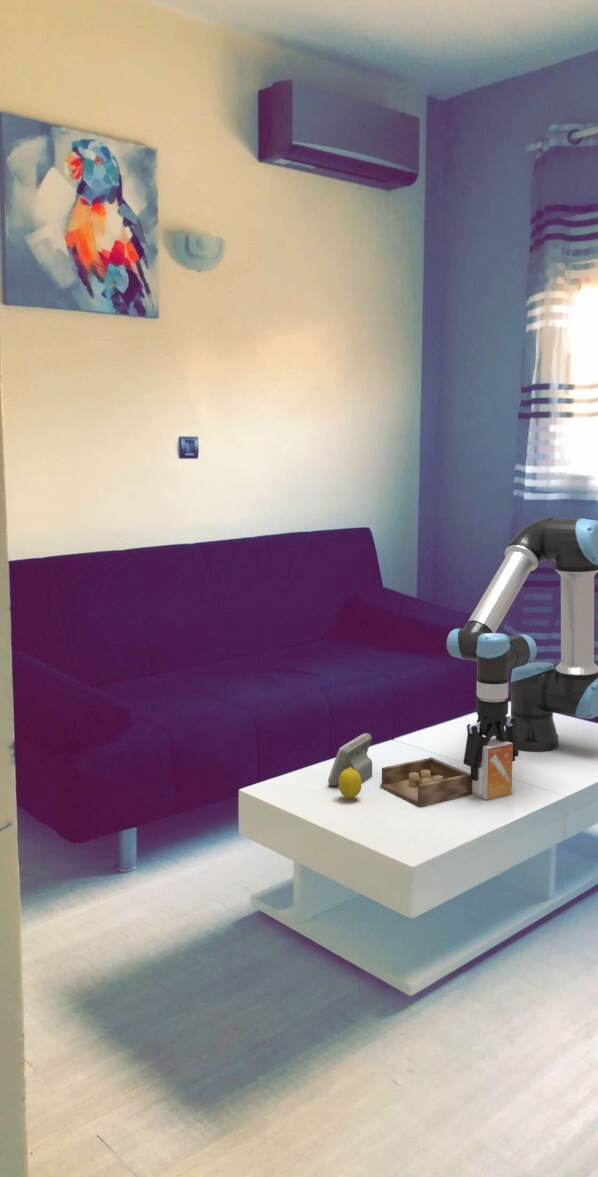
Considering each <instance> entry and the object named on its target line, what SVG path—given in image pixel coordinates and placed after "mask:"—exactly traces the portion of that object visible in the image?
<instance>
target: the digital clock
mask: <svg viewBox="0 0 598 1177" xmlns="http://www.w3.org/2000/svg"><path fill="white" fill-rule="evenodd" d="M372 740H373V739H372V735H371V733H367V732H366V733H362V734H360V735H359V736H357V737H356V738H354V739H353V740H350V741H348V742H347V743H345V744H344V745H342V746H340V747H339V749H338V751H337V754H336V756H335V759H334V761H333V765H332V768H331V771H330V774H329V776H328V779H327V783H328V785H329V786H330V787H336V786H339V785H338V784H339V777H340V774H341V773H342V772H343V771H344V770H345V769H348V768H349V767H351V768H352V769H354V770H356V771H357V772H358V773H359V774H360V777H361V783H362V784H363V783H364V782H366V781H368V780H369V779H370V778H372V777H373V761H372V759H371V758H370V757H369V756H368V751H369V748H370V746H371V742H372Z"/></svg>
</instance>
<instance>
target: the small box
mask: <svg viewBox="0 0 598 1177" xmlns="http://www.w3.org/2000/svg"><path fill="white" fill-rule="evenodd" d="M475 762H476V761H475ZM513 762H514V761H513V743H511V742H508V741H506V742H502V741H499V740H497V739H496V737H495V736H494V737H491V739H490V741H489V742H488V743H487V745H486V746H483V753H482V761H481V764H480V767H482V794H477V793H475V792H473V791H472V795H474V796H477V797H478V798H481V799H483V800H485V801H490V800H493V799H497V798H501V797H505V796H511V795H512V794H513V793H512V792H513V791H512V790H513V788H512V787H513Z"/></svg>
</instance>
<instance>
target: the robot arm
mask: <svg viewBox="0 0 598 1177" xmlns="http://www.w3.org/2000/svg"><path fill="white" fill-rule="evenodd" d="M546 561H548V562H554V571H555V572H556V573H558V574H559V575H560V662H559V663H558V664H557V665H556V666H555V664H554V663H551V662H547V661H536V662H533V661H534V660H535V659H536V657H537V652H538V647H537V644H536V642H535V640H534V638H533V637H531V636H530V635H528V634H525V633H524V634H523V633H522V634H514V635H507V634H505V633H499V632H497V630H498V629H499V627H500V625H501V623H502V622H503V620H504V618H505V616H506V615H507V614H508V612H509V609H510V607H511V606H512V604H513V603H514V600H515V599H516V597H517V596H518V594H519V592H520V591H521V589H522V587H523V585H524V584H525V582H526V580H527V578H528V576H529V575H530V573H531V572H533V571H534V570H536V569H537V568H538V567H539V564H541V563H542V562H546ZM597 573H598V520H595V519H586V518H574V517H573V518H568V517H543V518H542V517H541V518H539V519H536V520H534V521H532V522H531V523H529V524H527V525H526V526H525V527H523V528H522V529H521V530H520V531H519V532H518V533H517V534H516V535H515V536H514V537H513V538H512V539H511V540H510V542H509V543H508V545H507V547H506V549H505V550H504V559H503V561H502V562H501V565H500V566H499V568H498V569H497V571H496V573H495V575H494V576H493V578H492V579H491V581H490V583H489V584H488V586H487V588H486V590H485V592H484V593H483V595H482V597H481V598H480V600H479V602H478V603H477V606H475V609H474V610H473V612H472V614H471V615H470V617H469V619H468V620H467V622H466V623H465V625H464V627H463V628H461V627H459V628H454V629H452V630H451V631H449V633H448V636H447V638H446V650H447V652H448V654H449V655H450V656H451V657H454V658H458V659H461V660H465V661H467V660H468V661H473V662H476V697H477V698H476V699H475V700H476V701H475V702H476V703H475V704H476V705H475V706H476V711H475V712H476V714H477V720H476V722H475V723H474V724H471V723H469V724H467V725H466V732H467V735H466V744H465V749H464V756H463V764H464V765H465V766H468V767H470V774H471V779H472V791H473V792H475V793H477V794H482V767H480V764H481V761H482V753H483V746H486V745H487V743H488V742H489V741H490V739H491V738H495V737H496V739H497V740H499V741H502V742H506V741H508V742H511V743H513V761H512V762H515V761H516V758H517V757H519V754H520V753H519V750H520V751H526V752H545V751H551V750H554V749H557V748H558V747H559V744H560V742H559V740H560V739H559V735H558V734H557V728H556V724H555V721H554V713H555V714H561V715H564V716H565V715H566V716H571V717H573V718H578V719H587V720H588V719H589V720H593V719H595V718H597V717H598V665H597V664H596V663H595V576H596V574H597ZM510 670H512V671H511V677H510V676H509V675H510V674H509V673H510ZM509 677H510V678H511V679H510V716H507V715H508V714H509V699H508V698H509ZM475 761H476V762H475Z"/></svg>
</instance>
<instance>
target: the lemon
mask: <svg viewBox="0 0 598 1177" xmlns="http://www.w3.org/2000/svg"><path fill="white" fill-rule="evenodd" d="M362 784H363V783H361V777H360V774H359V773H358V772H357V771H356V770H354V769H352V768H351V767H349V768H348V769H345V770H344V771H343V772H342V773H341V774H340V777H339V785H338V789H339V791H340V794H342V796H343V797H345V798H347V799H348V800H349V799H351V800H352V799H353V798H355V797H357V796H358V795H359V794H360V792H361V790H362Z"/></svg>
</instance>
